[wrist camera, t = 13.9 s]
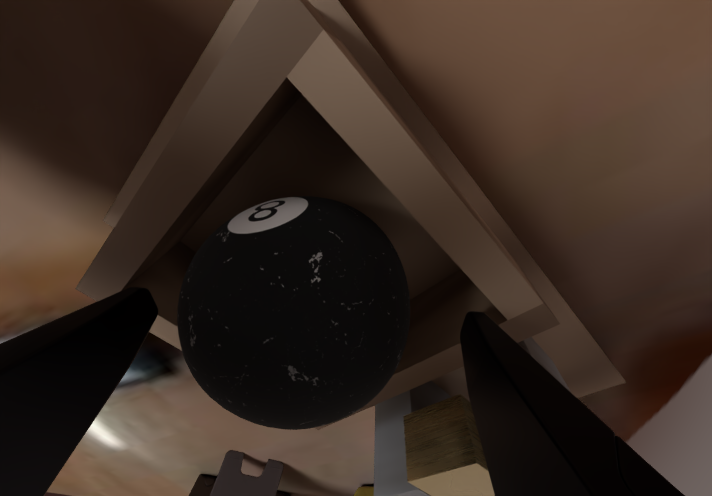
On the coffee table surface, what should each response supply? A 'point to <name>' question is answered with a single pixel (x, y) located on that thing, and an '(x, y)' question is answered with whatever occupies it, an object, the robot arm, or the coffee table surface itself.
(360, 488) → the flower pot
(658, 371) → the coffee table surface
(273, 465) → the portable electronic device stand
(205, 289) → the billiard ball
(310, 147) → the dock
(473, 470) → the beige wooden bar
